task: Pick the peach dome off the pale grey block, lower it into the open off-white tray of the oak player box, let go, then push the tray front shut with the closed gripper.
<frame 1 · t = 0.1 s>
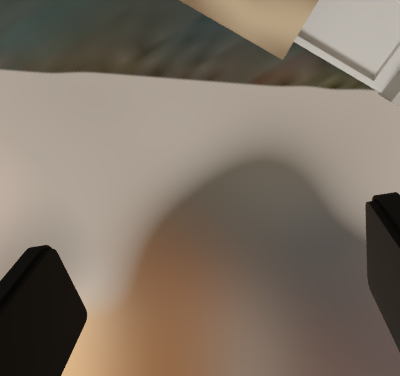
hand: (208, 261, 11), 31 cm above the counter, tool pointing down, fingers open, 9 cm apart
tray: (368, 9, 32), point 3 cm above the counter, slide at 11.0 cm
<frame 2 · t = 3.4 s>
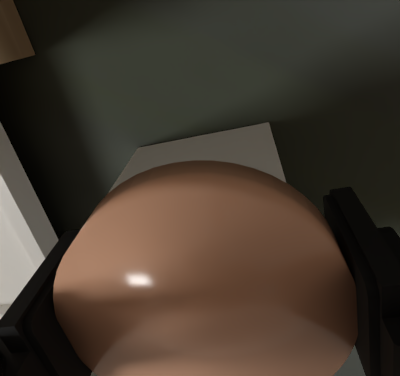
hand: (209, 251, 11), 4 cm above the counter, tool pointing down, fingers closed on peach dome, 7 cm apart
block: (215, 193, 14), on the counter
peach dome: (206, 279, 10), point 5 cm above the counter, touching block, gripper
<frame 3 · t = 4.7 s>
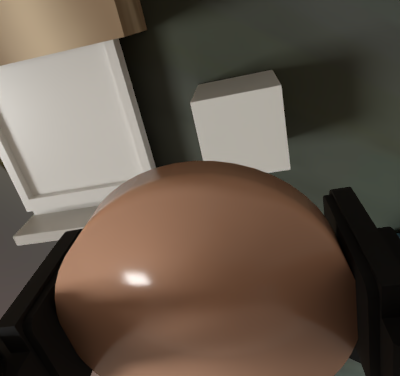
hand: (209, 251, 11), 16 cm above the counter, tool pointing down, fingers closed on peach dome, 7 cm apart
tray: (58, 132, 24), point 3 cm above the counter, slide at 11.0 cm
block: (240, 113, 25), on the counter
peach dome: (207, 279, 10), point 17 cm above the counter, touching gripper
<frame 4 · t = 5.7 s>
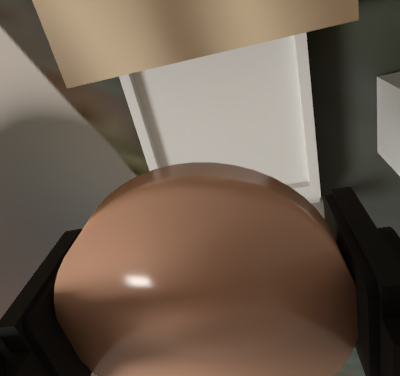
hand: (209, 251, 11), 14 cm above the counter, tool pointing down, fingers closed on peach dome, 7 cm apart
tray: (223, 133, 21), point 3 cm above the counter, slide at 11.0 cm
peach dome: (206, 280, 10), point 15 cm above the counter, touching gripper
when the fingers open (3 cm above the counter, at t = 7.8 s): peach dome drops 2 cm, resting on tray.
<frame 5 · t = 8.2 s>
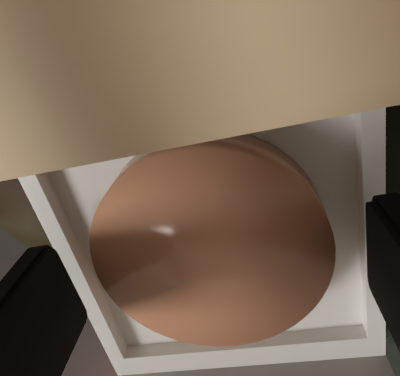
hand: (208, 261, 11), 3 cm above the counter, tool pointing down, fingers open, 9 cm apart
tray: (211, 260, 11), point 3 cm above the counter, slide at 11.0 cm, touching peach dome
peach dome: (212, 232, 12), point 2 cm above the counter, touching tray
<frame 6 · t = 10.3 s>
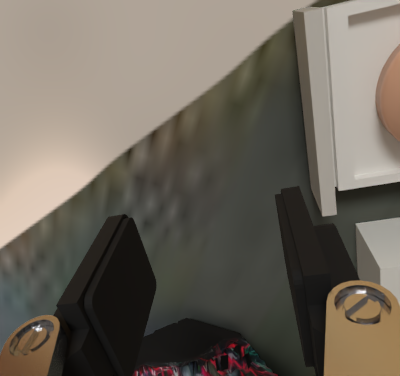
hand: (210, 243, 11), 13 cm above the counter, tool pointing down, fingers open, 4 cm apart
block: (391, 246, 27), on the counter
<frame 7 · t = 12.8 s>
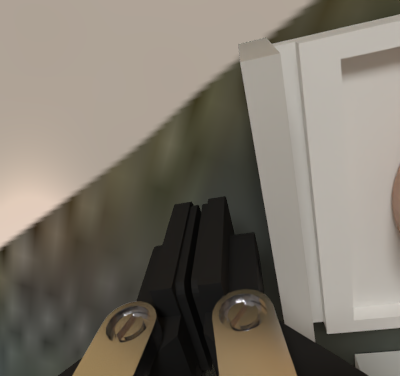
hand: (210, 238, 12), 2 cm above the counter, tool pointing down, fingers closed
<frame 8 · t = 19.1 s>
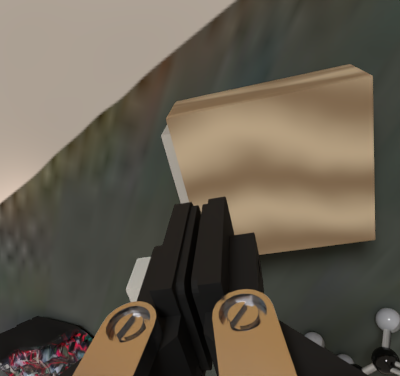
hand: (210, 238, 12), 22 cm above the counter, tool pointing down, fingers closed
tray: (259, 171, 32), point 3 cm above the counter, slide at 0.0 cm, touching peach dome
block: (164, 272, 41), on the counter
molecular model: (356, 325, 43), on the counter
fabric swatch: (78, 367, 52), on the counter
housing: (270, 157, 34), on the counter
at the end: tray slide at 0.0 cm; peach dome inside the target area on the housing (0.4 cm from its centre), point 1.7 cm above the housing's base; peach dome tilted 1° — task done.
